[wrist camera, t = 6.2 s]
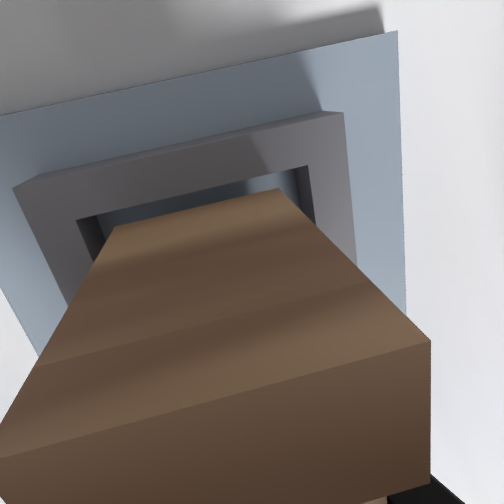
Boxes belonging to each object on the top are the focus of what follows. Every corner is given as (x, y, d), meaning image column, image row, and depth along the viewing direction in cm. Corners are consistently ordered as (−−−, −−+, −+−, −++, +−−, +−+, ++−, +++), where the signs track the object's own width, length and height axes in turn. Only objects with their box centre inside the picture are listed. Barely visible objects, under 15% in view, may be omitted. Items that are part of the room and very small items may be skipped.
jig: (386, 34, 10) (433, 18, 8) (404, 468, 17) (431, 515, 15) (-69, 131, 9) (-137, 140, 7) (152, 544, 16) (147, 602, 15)
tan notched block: (114, 226, 9) (-23, 463, 3) (277, 187, 9) (430, 341, 3) (227, 526, 14) (255, 832, 8) (331, 495, 14) (429, 771, 8)
